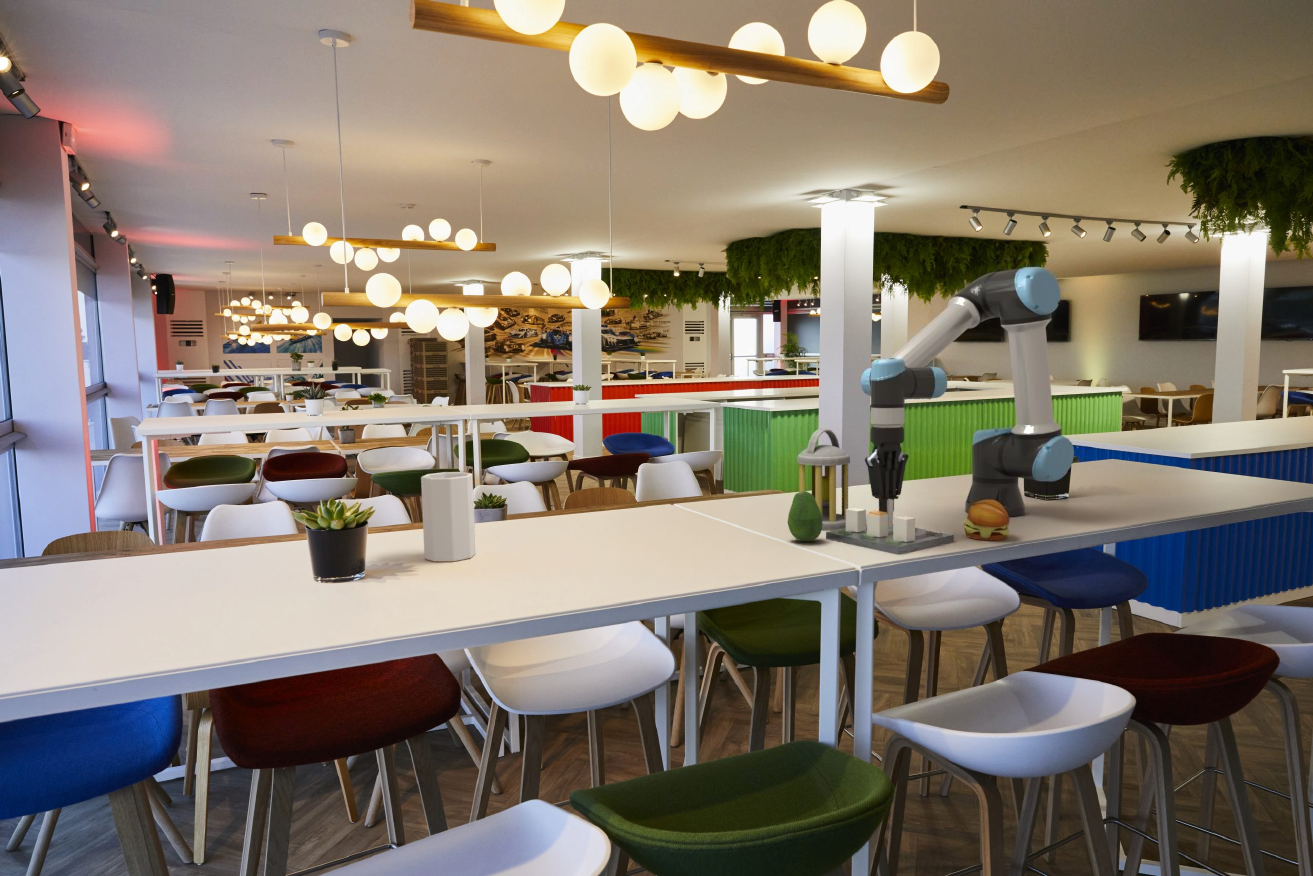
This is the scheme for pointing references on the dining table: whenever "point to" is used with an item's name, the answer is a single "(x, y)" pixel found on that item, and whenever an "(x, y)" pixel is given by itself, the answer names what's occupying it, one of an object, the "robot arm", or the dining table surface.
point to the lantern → (826, 478)
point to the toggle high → (904, 528)
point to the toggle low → (856, 519)
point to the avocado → (805, 517)
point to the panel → (891, 540)
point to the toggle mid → (877, 523)
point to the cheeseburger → (987, 521)
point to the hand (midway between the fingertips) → (886, 526)
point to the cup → (448, 516)
